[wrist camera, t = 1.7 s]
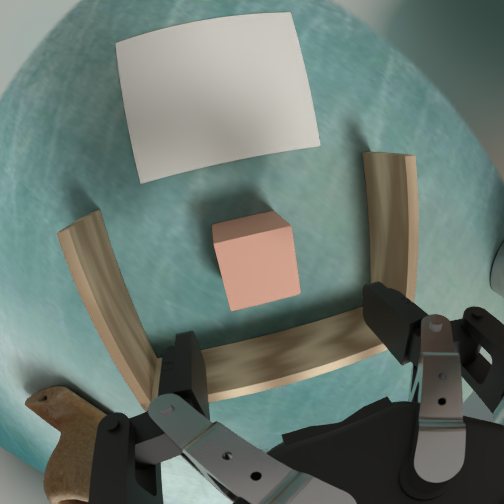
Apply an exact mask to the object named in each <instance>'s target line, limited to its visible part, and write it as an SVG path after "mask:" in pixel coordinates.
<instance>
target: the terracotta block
mask: <svg viewBox="0 0 504 504" xmlns="http://www.w3.org/2000/svg"><path fill="white" fill-rule="evenodd" d="M212 233H213V243H214V248H215V252H216V256H217V260H218V264H219V267H220V271H221V275H222V279H223V283H224V287H225V291H226V294H227V298H228V302H229V306H230V309H231V311H235V310H239V309H243V308H247V307H251V306H256V305H260V304H264V303H268V302H272V301H275V300H279V299H283V298H287V297H291V296H295V295H298V294H301V291H300V284H299V276H298V268H297V261H296V254H295V247H294V240H293V233H292V227H291V225H290V224H289V223H288V222H286V221H285V220H284V219H283V218H282V217H281V216H280V215H278V214H277V213H276V212H275V211H269V212H265V213H260V214H255V215H251V216H246V217H242V218H238V219H233V220H229V221H225V222H220V223H216V224H212Z"/></svg>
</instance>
